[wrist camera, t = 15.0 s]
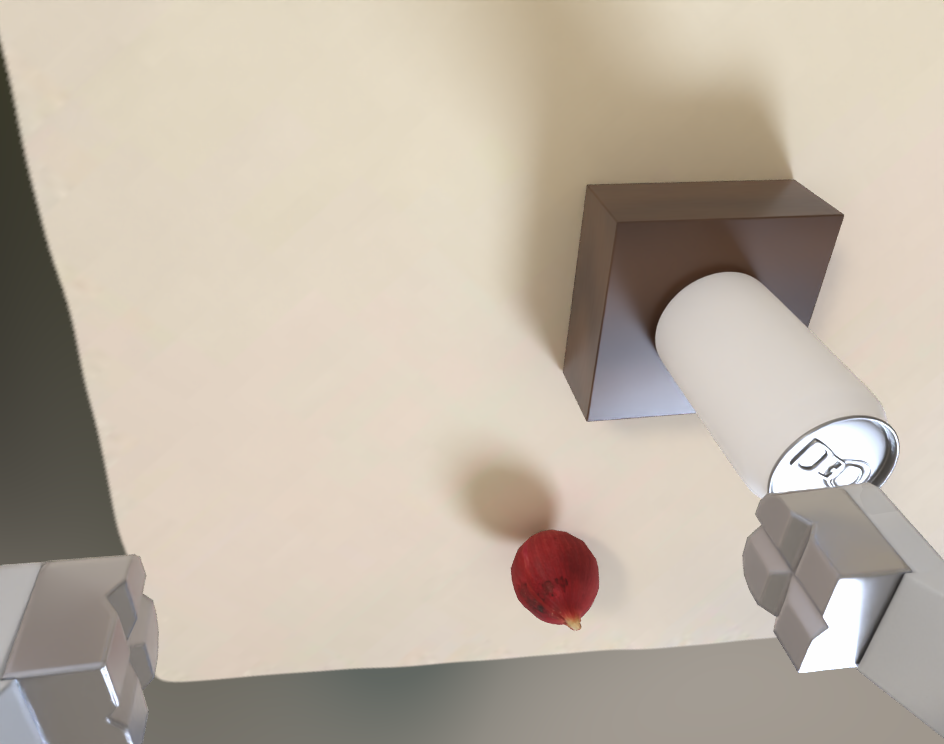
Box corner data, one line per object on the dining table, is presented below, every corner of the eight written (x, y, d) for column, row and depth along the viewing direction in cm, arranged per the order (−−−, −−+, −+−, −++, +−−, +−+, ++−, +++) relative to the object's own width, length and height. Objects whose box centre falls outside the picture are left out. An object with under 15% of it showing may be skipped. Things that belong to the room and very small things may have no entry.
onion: (492, 563, 57) (517, 657, 50) (513, 503, 54) (542, 596, 47) (567, 565, 58) (600, 657, 52) (591, 507, 55) (630, 597, 49)
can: (709, 390, 44) (823, 547, 35) (627, 342, 42) (726, 498, 32) (792, 302, 42) (940, 445, 32) (711, 245, 39) (847, 383, 29)
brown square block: (586, 184, 42) (617, 222, 37) (794, 179, 44) (845, 214, 40) (562, 372, 48) (586, 422, 44) (743, 360, 50) (782, 407, 46)
